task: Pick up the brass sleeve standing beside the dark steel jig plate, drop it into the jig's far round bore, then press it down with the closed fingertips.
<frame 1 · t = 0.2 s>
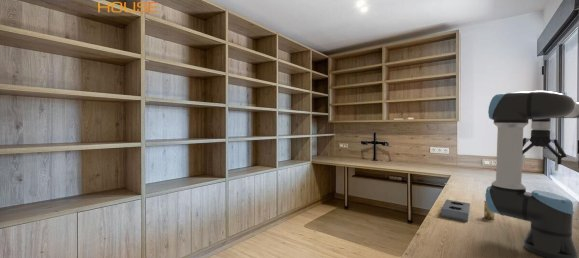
hand: (538, 168, 142), 27 cm above the worktop, tool pointing down, fingers open, 13 cm apart
steel jig: (456, 213, 147), on the worktop
brass sleeve: (489, 218, 141), on the worktop
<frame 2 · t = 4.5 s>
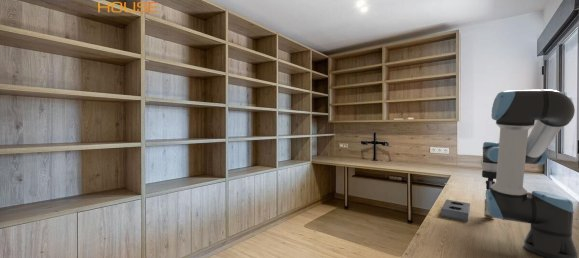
hand: (489, 213, 140), 3 cm above the worktop, tool pointing down, fingers closed on brass sleeve, 4 cm apart
brass sleeve: (489, 216, 140), point 1 cm above the worktop, touching gripper
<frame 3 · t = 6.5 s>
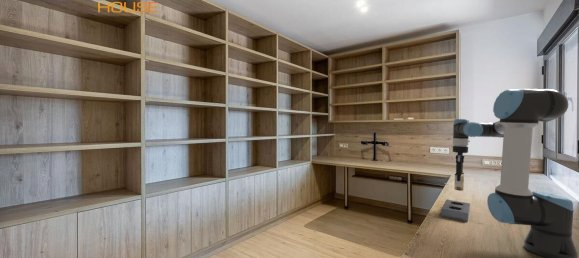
hand: (458, 185, 151), 15 cm above the worktop, tool pointing down, fingers closed on brass sleeve, 4 cm apart
brass sleeve: (458, 189, 151), point 13 cm above the worktop, touching gripper
when the fingers open (6 cm above the worktop, at t = 8.4 s): brass sleeve drops 4 cm, resting in steel jig.
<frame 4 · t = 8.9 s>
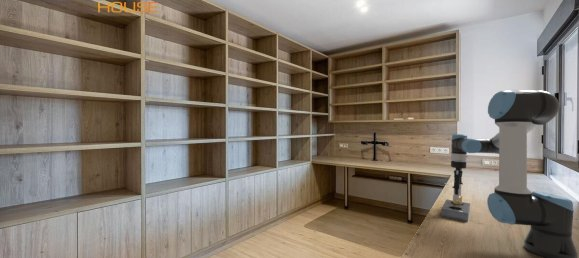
hand: (457, 197, 151), 8 cm above the worktop, tool pointing down, fingers open, 12 cm apart
brass sleeve: (456, 211, 151), resting in steel jig
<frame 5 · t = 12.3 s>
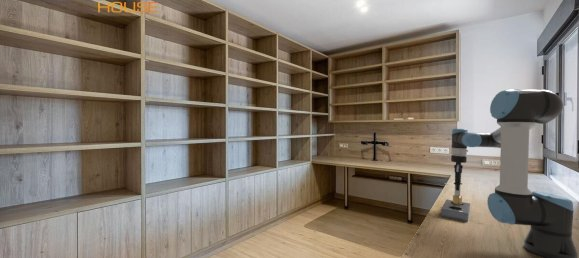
hand: (457, 195, 151), 9 cm above the worktop, tool pointing down, fingers closed
brass sleeve: (456, 211, 151), resting in steel jig, touching gripper
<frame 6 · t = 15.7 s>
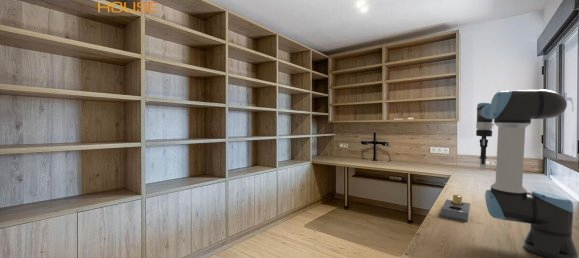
hand: (482, 169, 152), 24 cm above the worktop, tool pointing down, fingers closed
brass sleeve: (456, 211, 151), resting in steel jig
at the end: brass sleeve 0.2 cm from the target spot on the steel jig, point 0.0 cm above the steel jig's base; brass sleeve tilted 0°; the gripper is holding nothing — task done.
